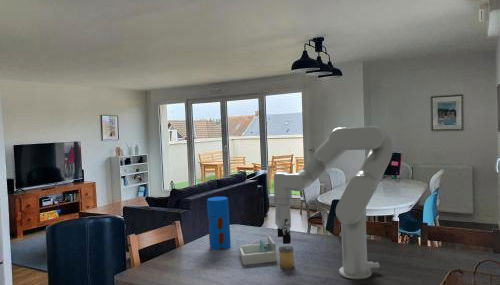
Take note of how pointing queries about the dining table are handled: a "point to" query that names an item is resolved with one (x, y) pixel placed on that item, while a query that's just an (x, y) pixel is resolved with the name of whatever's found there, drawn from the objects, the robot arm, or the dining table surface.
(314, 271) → the dining table surface
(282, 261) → the amber jar
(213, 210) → the thermos
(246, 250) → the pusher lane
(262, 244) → the plate
